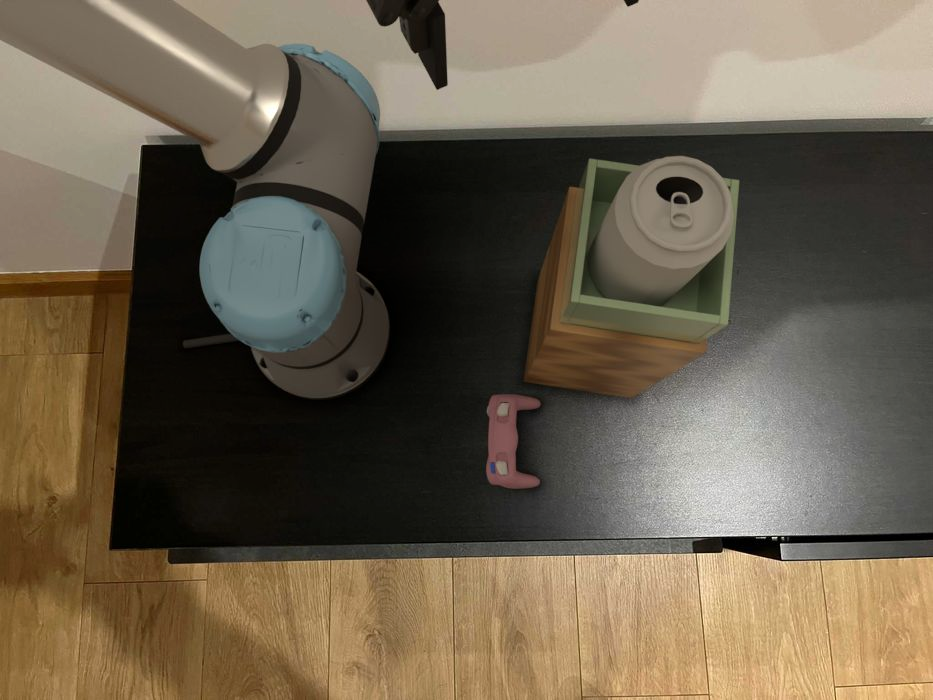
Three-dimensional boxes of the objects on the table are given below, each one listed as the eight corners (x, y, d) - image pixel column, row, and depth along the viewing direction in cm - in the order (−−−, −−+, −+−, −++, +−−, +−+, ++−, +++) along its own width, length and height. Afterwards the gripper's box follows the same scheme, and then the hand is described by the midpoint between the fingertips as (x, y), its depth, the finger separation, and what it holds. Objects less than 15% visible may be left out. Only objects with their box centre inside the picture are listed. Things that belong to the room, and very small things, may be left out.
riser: (523, 381, 77) (550, 329, 53) (537, 279, 79) (569, 186, 56) (631, 398, 76) (706, 353, 53) (642, 294, 79) (718, 208, 55)
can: (683, 225, 54) (744, 149, 43) (681, 317, 53) (744, 264, 41) (588, 217, 54) (623, 139, 43) (583, 308, 53) (618, 254, 41)
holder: (558, 323, 53) (570, 301, 47) (575, 194, 56) (589, 157, 50) (698, 344, 53) (728, 325, 47) (710, 213, 55) (739, 179, 49)
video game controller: (505, 399, 78) (478, 389, 72) (543, 397, 76) (519, 387, 70) (503, 489, 76) (475, 487, 69) (543, 489, 74) (518, 488, 67)
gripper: (290, -176, 22) (375, 156, 42) (957, -433, 24) (727, 0, 45) (201, -343, 23) (326, 57, 44) (839, -570, 25) (670, -88, 46)
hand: (529, 29), depth 44 cm, fingers open, 13 cm apart
